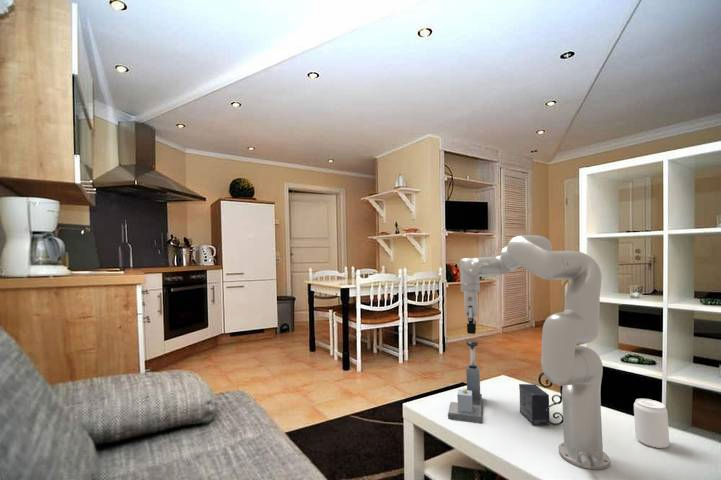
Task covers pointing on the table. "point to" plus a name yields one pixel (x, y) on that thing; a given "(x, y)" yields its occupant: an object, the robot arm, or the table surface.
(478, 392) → the press
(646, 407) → the white cylindrical container
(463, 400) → the housing
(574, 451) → the robot arm
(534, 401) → the small box
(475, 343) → the plunger
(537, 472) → the table surface
